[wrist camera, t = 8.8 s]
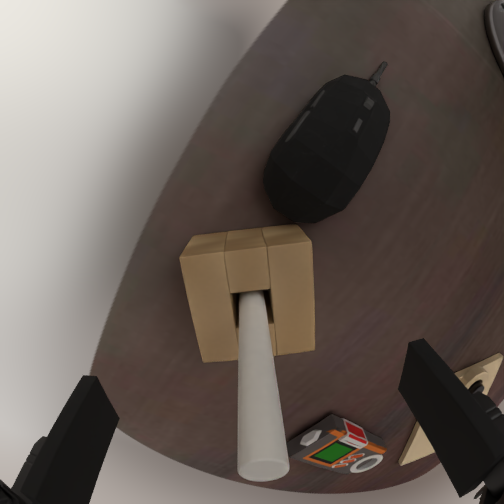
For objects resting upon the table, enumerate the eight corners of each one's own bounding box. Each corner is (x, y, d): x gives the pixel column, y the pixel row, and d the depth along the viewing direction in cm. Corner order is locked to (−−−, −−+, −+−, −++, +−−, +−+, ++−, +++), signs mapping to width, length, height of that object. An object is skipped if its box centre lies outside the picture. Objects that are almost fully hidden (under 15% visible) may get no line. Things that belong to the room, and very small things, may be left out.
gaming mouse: (413, 89, 18) (441, 80, 14) (316, 236, 21) (331, 252, 18) (352, 39, 17) (372, 19, 13) (245, 188, 20) (245, 194, 16)
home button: (481, 377, 25) (486, 383, 24) (475, 390, 26) (480, 396, 25) (469, 383, 25) (474, 389, 24) (463, 396, 26) (468, 403, 25)
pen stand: (296, 223, 21) (312, 241, 16) (302, 314, 23) (315, 350, 19) (192, 235, 21) (178, 256, 16) (209, 325, 23) (203, 362, 19)
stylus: (259, 266, 22) (289, 457, 7) (262, 286, 23) (290, 479, 7) (238, 269, 22) (233, 462, 7) (241, 288, 23) (241, 483, 7)
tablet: (500, 348, 27) (510, 357, 24) (460, 434, 33) (465, 443, 30) (432, 377, 27) (441, 390, 25) (398, 461, 33) (402, 472, 30)
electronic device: (356, 478, 29) (287, 459, 25) (351, 463, 32) (283, 439, 28) (396, 454, 28) (337, 429, 24) (389, 439, 31) (330, 409, 27)
